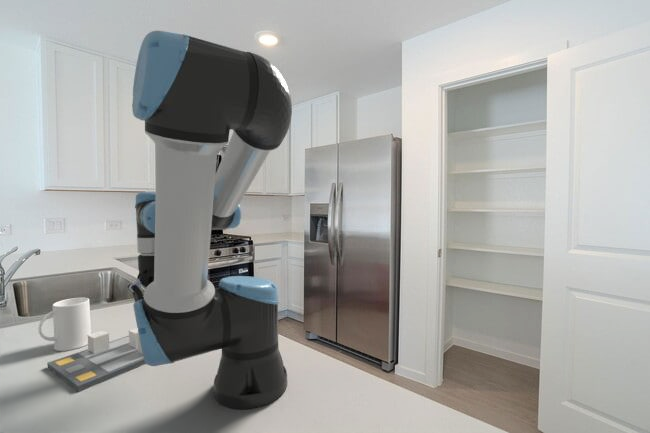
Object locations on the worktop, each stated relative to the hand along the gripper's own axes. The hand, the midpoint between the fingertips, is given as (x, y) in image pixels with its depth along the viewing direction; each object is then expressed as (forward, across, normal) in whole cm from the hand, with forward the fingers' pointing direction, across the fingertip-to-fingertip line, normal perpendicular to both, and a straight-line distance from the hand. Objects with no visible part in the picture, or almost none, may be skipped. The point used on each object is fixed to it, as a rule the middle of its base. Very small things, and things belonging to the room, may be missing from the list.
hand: (158, 342), depth 86 cm
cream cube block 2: (+1, +2, -6) cm, 6 cm away
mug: (+3, +12, -25) cm, 28 cm away
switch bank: (+3, +8, -6) cm, 10 cm away
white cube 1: (+1, +2, 0) cm, 3 cm away
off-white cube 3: (+1, +9, -12) cm, 15 cm away
